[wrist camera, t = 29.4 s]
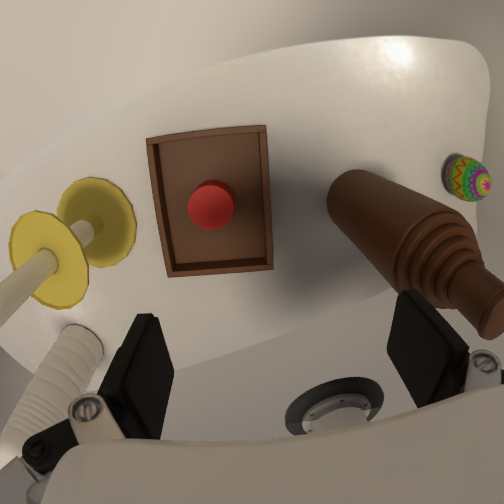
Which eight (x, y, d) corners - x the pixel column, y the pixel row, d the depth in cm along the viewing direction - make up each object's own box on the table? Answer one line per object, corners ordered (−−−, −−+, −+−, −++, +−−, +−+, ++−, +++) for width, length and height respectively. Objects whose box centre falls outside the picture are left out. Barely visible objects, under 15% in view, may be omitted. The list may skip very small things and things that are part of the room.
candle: (65, 264, 29) (-76, 444, 5) (52, 180, 25) (-159, 311, 1) (141, 268, 30) (22, 519, 5) (133, 174, 26) (-127, 370, 1)
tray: (271, 259, 30) (273, 269, 28) (172, 266, 30) (167, 277, 28) (263, 125, 25) (266, 125, 23) (153, 137, 25) (145, 138, 23)
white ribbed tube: (112, 354, 35) (52, 519, 12) (83, 363, 36) (22, 506, 13) (73, 304, 31) (-27, 466, 8) (46, 318, 32) (-44, 457, 9)
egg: (440, 198, 28) (472, 213, 23) (437, 155, 26) (472, 164, 21) (468, 192, 28) (501, 206, 22) (466, 152, 26) (501, 160, 20)
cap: (233, 178, 26) (232, 183, 24) (236, 219, 28) (236, 228, 25) (190, 182, 26) (184, 187, 24) (194, 222, 28) (190, 232, 25)
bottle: (382, 229, 29) (513, 352, 11) (326, 233, 29) (433, 386, 10) (385, 169, 27) (552, 247, 8) (326, 170, 27) (478, 260, 8)
